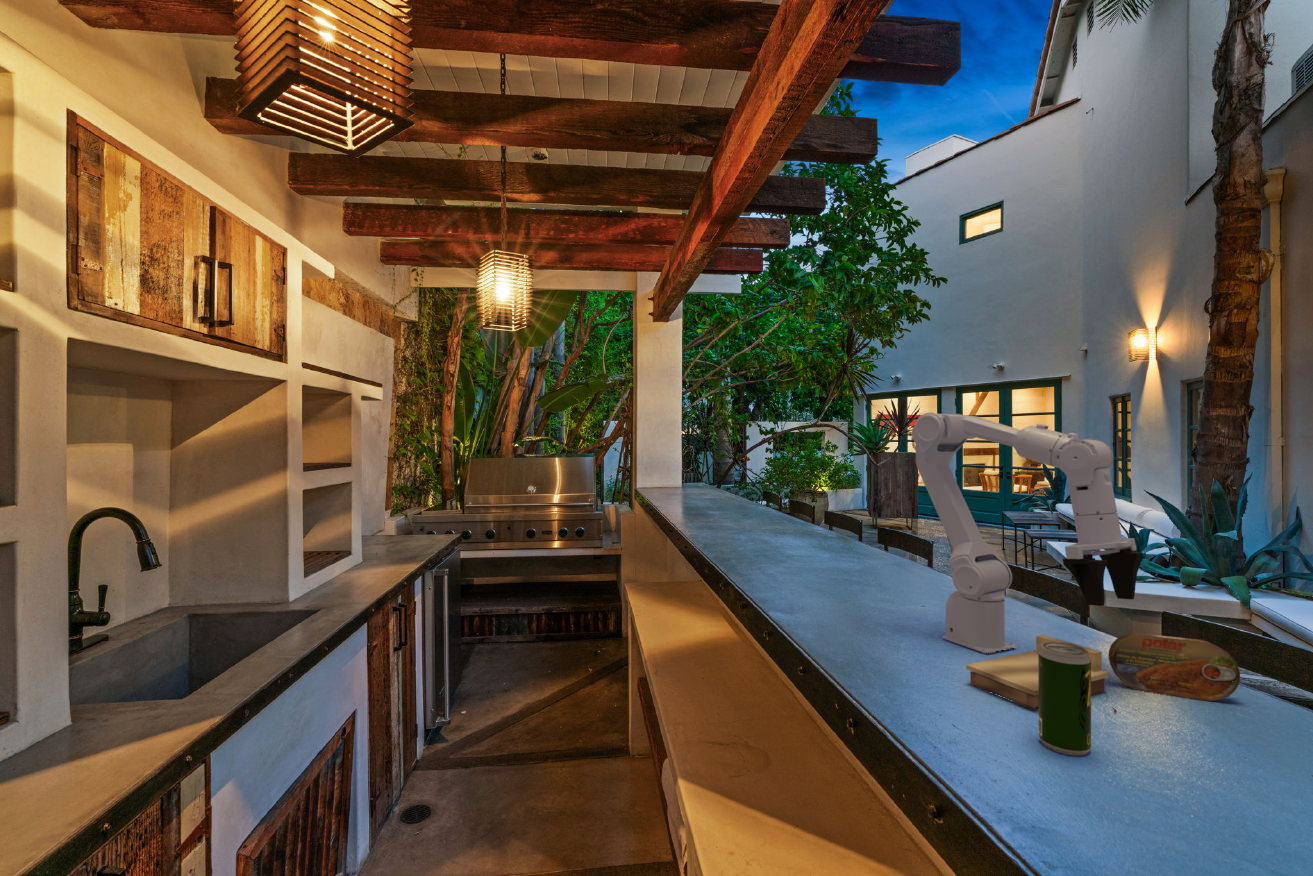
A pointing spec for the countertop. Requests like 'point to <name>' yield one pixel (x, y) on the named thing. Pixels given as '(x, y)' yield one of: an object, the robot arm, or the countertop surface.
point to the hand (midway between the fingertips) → (1111, 601)
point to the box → (1018, 695)
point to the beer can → (1064, 698)
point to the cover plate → (1029, 667)
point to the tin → (1174, 666)
